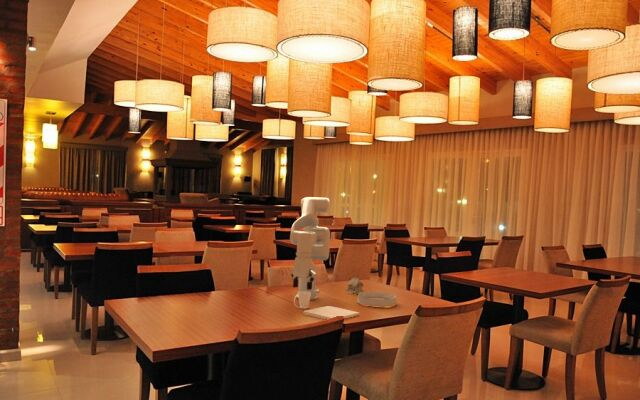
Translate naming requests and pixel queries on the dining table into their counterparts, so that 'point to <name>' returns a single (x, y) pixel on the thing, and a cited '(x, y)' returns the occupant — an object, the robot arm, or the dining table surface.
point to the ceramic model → (355, 286)
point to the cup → (303, 299)
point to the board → (330, 312)
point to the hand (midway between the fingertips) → (302, 288)
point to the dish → (376, 299)
